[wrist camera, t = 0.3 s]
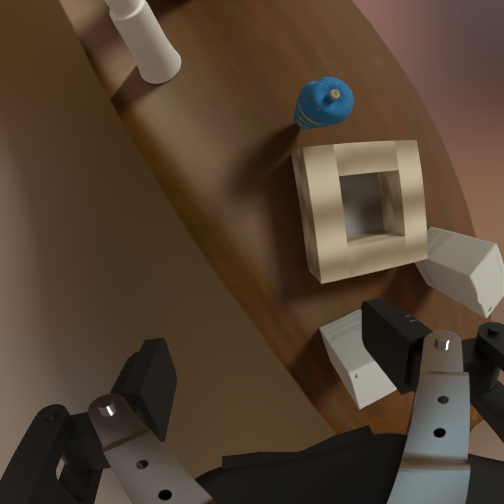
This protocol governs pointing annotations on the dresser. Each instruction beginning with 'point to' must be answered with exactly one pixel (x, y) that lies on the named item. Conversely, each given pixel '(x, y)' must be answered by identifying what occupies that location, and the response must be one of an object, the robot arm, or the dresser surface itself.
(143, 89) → the dresser surface
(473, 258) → the skincare box
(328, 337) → the supplement box
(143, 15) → the cosmetic bottle
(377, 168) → the socket block
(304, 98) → the ornament
